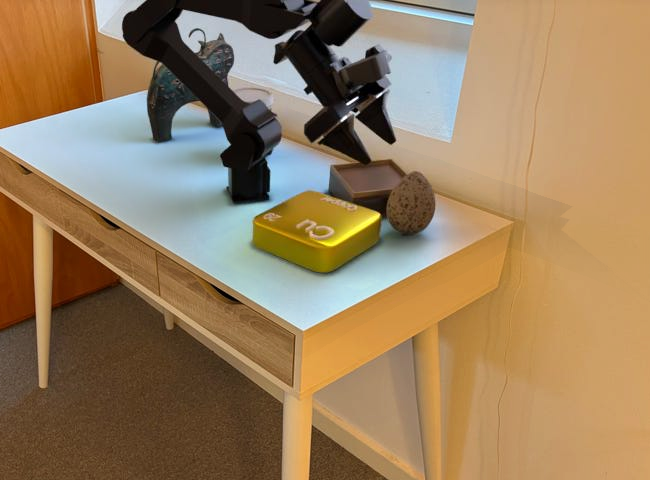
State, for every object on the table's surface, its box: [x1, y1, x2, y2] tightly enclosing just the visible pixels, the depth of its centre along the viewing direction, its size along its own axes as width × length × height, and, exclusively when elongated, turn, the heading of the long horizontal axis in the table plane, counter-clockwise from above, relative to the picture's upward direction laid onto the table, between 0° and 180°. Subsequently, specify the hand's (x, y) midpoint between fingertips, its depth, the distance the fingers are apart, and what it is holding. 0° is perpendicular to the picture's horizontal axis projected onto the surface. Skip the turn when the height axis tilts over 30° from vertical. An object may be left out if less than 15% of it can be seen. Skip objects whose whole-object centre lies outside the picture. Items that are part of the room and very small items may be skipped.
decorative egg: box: [386, 170, 436, 236], centre depth 109 cm, size 7×7×10 cm
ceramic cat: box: [146, 27, 235, 143], centre depth 147 cm, size 20×6×20 cm, turn 122°
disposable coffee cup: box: [231, 86, 275, 111], centre depth 136 cm, size 10×10×12 cm
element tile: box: [252, 189, 383, 274], centre depth 110 cm, size 15×15×5 cm
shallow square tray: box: [328, 157, 408, 218], centre depth 120 cm, size 11×12×5 cm
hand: (381, 152), depth 108 cm, fingers open, 9 cm apart
